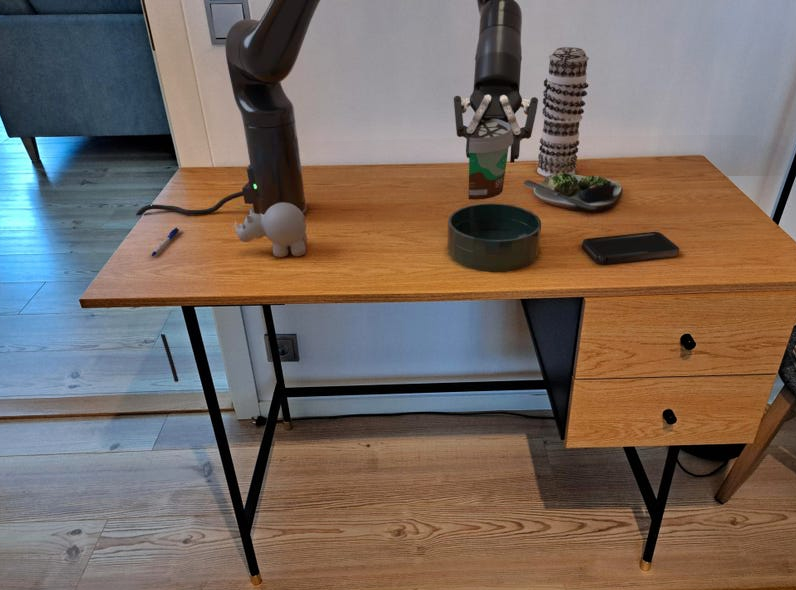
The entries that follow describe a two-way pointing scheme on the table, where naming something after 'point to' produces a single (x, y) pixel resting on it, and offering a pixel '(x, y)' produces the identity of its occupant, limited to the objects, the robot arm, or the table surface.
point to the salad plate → (577, 192)
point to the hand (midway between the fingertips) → (491, 159)
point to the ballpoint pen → (165, 241)
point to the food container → (488, 158)
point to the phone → (629, 247)
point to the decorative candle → (562, 111)
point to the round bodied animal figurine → (277, 229)
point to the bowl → (493, 237)
